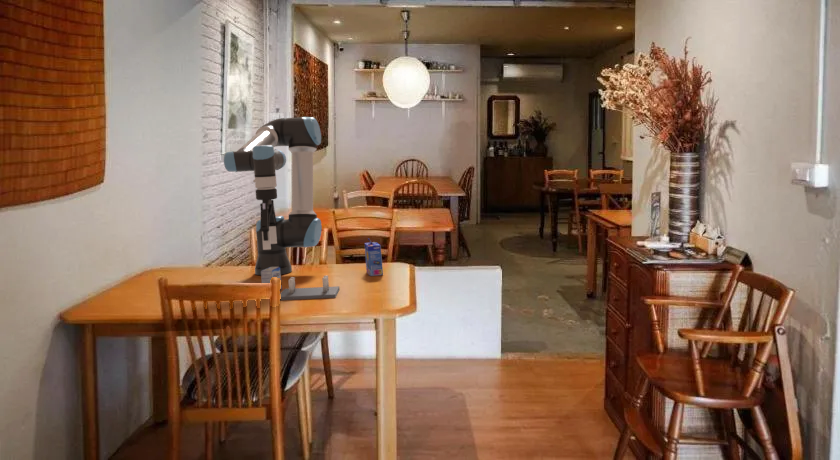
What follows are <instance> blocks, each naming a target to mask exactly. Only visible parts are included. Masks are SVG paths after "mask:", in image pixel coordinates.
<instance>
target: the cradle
mask: <svg viewBox="0 0 840 460" xmlns="http://www.w3.org/2000/svg"><path fill="white" fill-rule="evenodd" d="M295 280H296V277H293V276H291V277H290V278H288V281H287V282H288V288H284V289H283V290H282V291H281V292H280V294H281V300H280V301H289V300H290V301H292V300H295V301H297V300H315V299H316V300H317V299H336V298H337V296H338V294H339V291H340V286H329V285H330V283H329V282H330V281H329V275H323V277H322V279H321V280H322V286H320V287H319V286H317V287H299V288H298V287H296V281H295Z"/></svg>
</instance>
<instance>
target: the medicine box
mask: <svg viewBox="0 0 840 460" xmlns="http://www.w3.org/2000/svg"><path fill="white" fill-rule="evenodd" d="M281 275H282V274H280V267H269V268H267V269H264V270H262V271H261V275H260V277H261V279H260V280H261V284H262V283H270V280H271V278H272V277H277V278H280V280H281V281H282V277H281ZM282 289H283V288H282V286H281V290H282Z"/></svg>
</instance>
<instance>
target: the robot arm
mask: <svg viewBox="0 0 840 460" xmlns="http://www.w3.org/2000/svg"><path fill="white" fill-rule="evenodd" d="M321 143H322V132H321V128H320V125H319V123H318V121H317V119H316V118H315V117H313V116H311V117H310V116H299V117H280V118H276V119H273V120H271V121H269V122H267V123H265V124H263V125H262V126H260V127H259V128H258V129H257V130H256V132H255V135H254V136H253V137H251V138H250V139H249V140H248V141H247V142H245V144H243V146H241V147H240V148H239V149H237V150H236V151H233V150H231V151H227V152H226V153H225V154H224V157H223V164H224V168H225V170H226V171H227V172H230V173H231V172H232V173H233V172H235V173H238V172H253V173H254V174H253V177H254V179H253V183H254V186H255V187H254V188H255V200H257V201H262V203H260V206H259V207H260V219H259V220H257V221H256V223H255V234H256V247H257V259H256V262H255V266H254V274H255V275H257V276H261V271H262V270H264V269H267V268H269V267H280V274H281V275H284V274H289V273H291V272H292V271H293V269H292V268H293V267H292V264H291V262H290V259H289V256H288V255H287V248H309V247H310V248H311V247H312V248H313V247H315V246H317V245H319V242H320V240H321V236H322V221H321V219H320V218H318V215H317V213H316V212H315V211H314V154H315V152H316V151H317V146H319V145H321ZM275 147H288V151H289V152H290V153H291V159H292V161H291V163H292V165H291V171H292V172H291V175H292V177H291V181H292V182H291V189H292V191H291V193H292V195H291V199H292V201H291V204H292V205H291V206H292V207H291V211H290V213H289V214H288V218H286V219H285V217H284V215H277V216H276V210H275V204H274V201H275V200H276V199H277V198H278V190H277V188H276V187H277V175H276V171H279V170H280V169H283V168H284V167H285V165H286V163H287V157H286V155H285V153H284V152H283V151H282V150H280V149H276V148H275ZM274 148H275V149H274Z"/></svg>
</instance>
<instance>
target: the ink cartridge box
mask: <svg viewBox="0 0 840 460" xmlns="http://www.w3.org/2000/svg"><path fill="white" fill-rule="evenodd" d="M367 240H368V241H369V242H364V254H365V257H364V258H365V267H366V268H365V269H366V273H367V275H368V276H370V277H375V276H376V277H377V276H383V275H384V269H383V258H382V246H381V244H379V243H378V242H376V241H373V242H372V240H371V239H370V238H367Z"/></svg>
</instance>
